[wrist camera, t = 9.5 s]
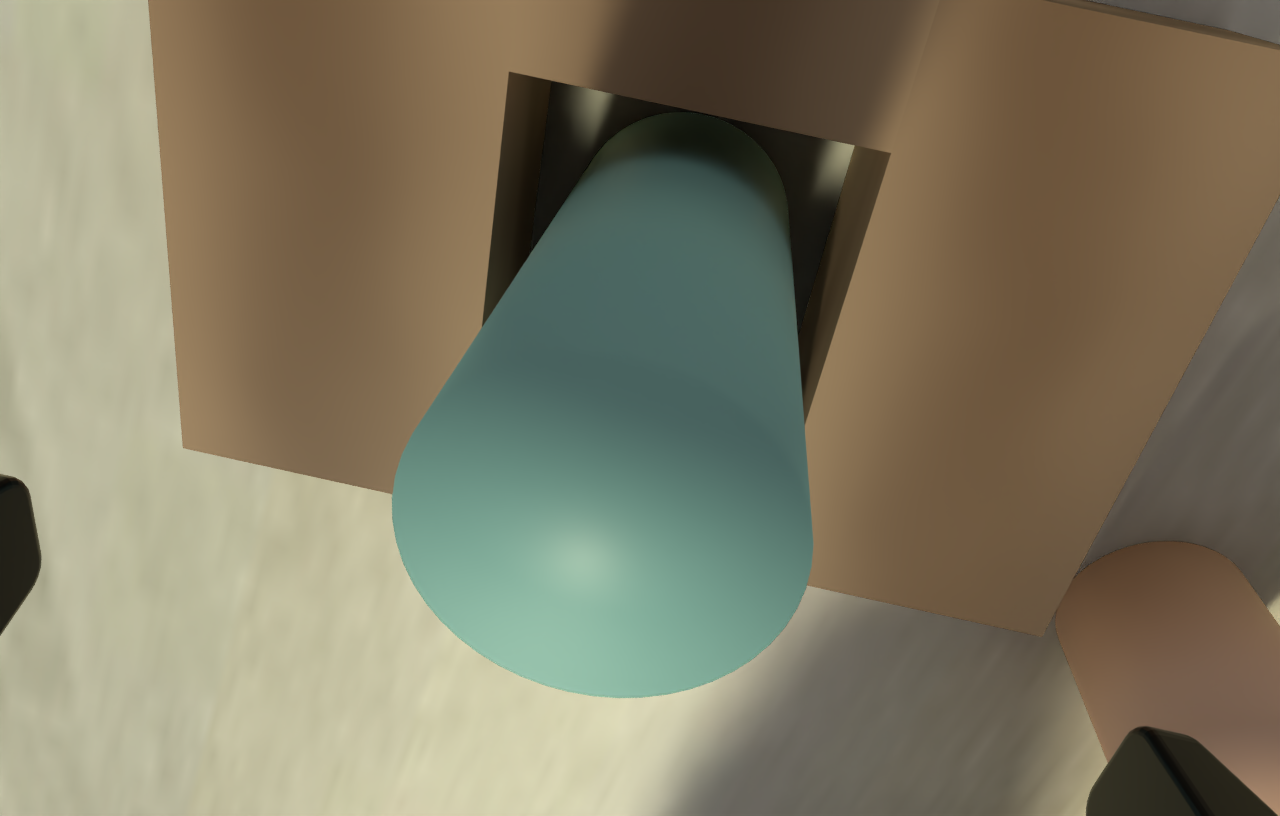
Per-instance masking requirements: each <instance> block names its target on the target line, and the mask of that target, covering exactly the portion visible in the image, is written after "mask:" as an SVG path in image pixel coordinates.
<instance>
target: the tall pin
mask: <svg viewBox="0 0 1280 816" xmlns="http://www.w3.org/2000/svg"><path fill="white" fill-rule="evenodd" d="M392 520H393V526H394V532H395V537H396V543H397V546H398V549H399V552H400V555H401V558H402V561H403V564H404V566H405V568H406V570H407V572H408V574H409V576H410V578H411V580H412V582H413V584H414V586H415V587H416V589H417V590H418V592H419V593H420V595H421V596H422V598H423V599H424V601H425V602H426V604H427V605H428V606H429V607H430V609H431V610H432V611H433V612H434V613H435V615H436V616H437V617H438V618H439V619H440V620H441V622H442V623H443V624H445V625H446V626H447V627H448V628H449V629H450V630H451V631H452V632H453V633H454V634H455V635H456V636H457V637H458V638H459V639H461V640H462V641H463V642H465V643H466V644H467V645H469V646H470V647H471V648H472V649H474V650H475V651H476V652H478V653H479V654H481V655H482V656H484V657H486V658H487V659H489V660H491V661H492V662H494V663H495V664H497V665H499V666H501V667H503V668H505V669H507V670H509V671H511V672H513V673H515V674H517V675H519V676H521V677H524V678H526V679H529V680H532V681H534V682H537V683H540V684H542V685H545V686H549V687H553V688H556V689H560V690H564V691H567V692H573V693H578V694H584V695H590V696H599V697H612V698H641V697H651V696H659V695H667V694H671V693H676V692H680V691H685V690H689V689H692V688H695V687H698V686H701V685H704V684H707V683H710V682H713V681H715V680H717V679H719V678H721V677H723V676H725V675H727V674H729V673H731V672H733V671H735V670H736V669H738V668H740V667H741V666H743V665H744V664H746V663H747V662H749V661H750V660H752V659H753V658H754V657H756V656H757V655H758V654H759V653H760V652H762V651H763V650H764V649H765V648H766V647H767V646H769V645H770V644H771V643H772V641H773V640H774V639H775V638H776V637H777V636H778V635H779V634H780V632H781V631H782V630H783V629H784V628H785V627H786V625H787V623H788V622H789V620H790V619H791V617H792V616H793V614H794V613H795V611H796V610H797V608H798V605H799V603H800V601H801V599H802V596H803V594H804V592H805V590H806V586H807V582H808V579H809V575H810V571H811V567H812V556H813V545H814V543H813V530H812V516H811V503H810V490H809V477H808V464H807V451H806V438H805V425H804V412H803V398H802V385H801V372H800V359H799V346H798V333H797V320H796V307H795V294H794V281H793V267H792V254H791V241H790V228H789V215H788V203H787V198H786V193H785V189H784V186H783V183H782V180H781V178H780V175H779V173H778V171H777V170H776V168H775V166H774V164H773V162H772V161H771V159H770V158H769V157H768V155H767V154H766V152H765V151H764V150H763V149H762V148H761V147H760V146H759V145H758V144H757V143H756V142H755V141H754V140H753V139H752V138H751V137H749V136H748V135H747V134H746V133H744V132H743V131H741V130H740V129H738V128H736V127H735V126H733V125H731V124H729V123H727V122H725V121H722V120H720V119H718V118H714V117H711V116H707V115H704V114H697V113H690V112H672V113H665V114H658V115H655V116H651V117H647V118H644V119H642V120H640V121H637V122H635V123H633V124H631V125H629V126H628V127H626V128H624V129H622V130H621V131H619V132H618V133H617V134H616V135H614V136H613V137H612V138H611V139H609V140H608V141H607V142H606V144H605V145H604V146H603V147H602V148H601V149H600V150H599V151H598V153H597V154H596V155H595V157H594V158H593V160H592V161H591V162H590V164H589V166H588V167H587V169H586V170H585V172H584V173H583V175H582V176H581V178H580V179H579V181H578V182H577V184H576V185H575V187H574V188H573V190H572V191H571V193H570V194H569V196H568V197H567V199H566V201H565V202H564V204H563V205H562V207H561V208H560V210H559V211H558V213H557V214H556V216H555V217H554V219H553V220H552V222H551V223H550V225H549V226H548V228H547V229H546V231H545V232H544V234H543V236H542V237H541V239H540V240H539V242H538V243H537V245H536V246H535V248H534V249H533V251H532V252H531V254H530V255H529V257H528V258H527V260H526V261H525V263H524V264H523V266H522V267H521V269H520V271H519V272H518V274H517V275H516V277H515V278H514V280H513V281H512V283H511V284H510V286H509V287H508V289H507V290H506V292H505V293H504V295H503V296H502V298H501V299H500V301H499V302H498V304H497V306H496V307H495V309H494V310H493V312H492V313H491V315H490V316H489V318H488V319H487V321H486V322H485V324H484V325H483V327H482V328H481V330H480V331H479V333H478V334H477V336H476V337H475V339H474V341H473V342H472V344H471V345H470V347H469V348H468V350H467V351H466V353H465V354H464V356H463V357H462V359H461V360H460V362H459V363H458V365H457V366H456V368H455V369H454V371H453V372H452V374H451V376H450V377H449V379H448V380H447V382H446V383H445V385H444V386H443V388H442V389H441V391H440V392H439V394H438V395H437V397H436V398H435V400H434V401H433V403H432V404H431V406H430V407H429V409H428V411H427V412H426V414H425V415H424V417H423V418H422V420H421V421H420V423H419V424H418V426H417V427H416V429H415V430H414V432H413V433H412V435H411V437H410V439H409V441H408V443H407V445H406V447H405V449H404V451H403V453H402V455H401V459H400V462H399V465H398V468H397V471H396V475H395V480H394V487H393V495H392Z"/></svg>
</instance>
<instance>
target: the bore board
mask: <svg viewBox="0 0 1280 816" xmlns="http://www.w3.org/2000/svg"><path fill="white" fill-rule="evenodd" d="M148 4H149V16H150V29H151V42H152V55H153V68H154V81H155V94H156V107H157V119H158V132H159V145H160V158H161V171H162V184H163V197H164V210H165V223H166V235H167V248H168V261H169V274H170V287H171V300H172V313H173V326H174V338H175V351H176V364H177V377H178V390H179V403H180V416H181V429H182V442H183V448H185V449H190V450H194V451H199V452H203V453H208V454H213V455H217V456H222V457H226V458H231V459H235V460H240V461H244V462H249V463H253V464H258V465H263V466H267V467H272V468H276V469H281V470H285V471H290V472H294V473H299V474H303V475H308V476H313V477H317V478H322V479H326V480H331V481H335V482H340V483H344V484H349V485H353V486H358V487H363V488H367V489H372V490H376V491H381V492H385V493H390V494H393V487H394V480H395V475H396V471H397V468H398V465H399V462H400V459H401V455H402V453H403V451H404V449H405V447H406V445H407V443H408V441H409V439H410V437H411V435H412V433H413V432H414V430H415V429H416V427H417V426H418V424H419V423H420V421H421V420H422V418H423V417H424V415H425V414H426V412H427V411H428V409H429V407H430V406H431V404H432V403H433V401H434V400H435V398H436V397H437V395H438V394H439V392H440V391H441V389H442V388H443V386H444V385H445V383H446V382H447V380H448V379H449V377H450V376H451V374H452V372H453V371H454V369H455V368H456V366H457V365H458V363H459V362H460V360H461V359H462V357H463V356H464V354H465V353H466V351H467V350H468V348H469V347H470V345H471V344H472V342H473V341H474V339H475V337H476V336H477V334H478V333H479V331H480V330H481V328H482V327H483V325H484V324H485V322H486V321H487V319H488V318H489V316H490V315H491V313H492V312H493V310H494V309H495V307H496V306H497V304H498V302H499V301H500V299H501V298H502V296H503V295H504V293H505V292H506V290H507V289H508V287H509V286H510V284H511V283H512V281H513V280H514V278H515V277H516V275H517V274H518V272H519V271H520V269H521V267H522V266H523V264H524V263H525V261H526V260H527V258H528V257H529V253H530V245H531V237H532V229H533V222H534V214H535V206H536V198H537V190H538V183H539V175H540V167H541V159H542V151H543V144H544V136H545V128H546V120H547V113H548V105H549V97H550V89H551V81H556V82H561V83H565V84H570V85H575V86H580V87H584V88H589V89H594V90H598V91H603V92H608V93H612V94H617V95H622V96H626V97H631V98H636V99H640V100H645V101H650V102H654V103H659V104H664V105H669V106H673V107H678V108H683V109H687V110H692V111H697V112H701V113H706V114H711V115H715V116H720V117H725V118H729V119H734V120H739V121H743V122H748V123H753V124H758V125H762V126H767V127H772V128H776V129H781V130H786V131H790V132H795V133H800V134H804V135H809V136H814V137H818V138H823V139H828V140H832V141H837V142H842V143H847V144H851V145H855V147H854V150H853V154H852V157H851V160H850V164H849V167H848V171H847V174H846V177H845V181H844V184H843V187H842V191H841V194H840V198H839V201H838V204H837V208H836V211H835V214H834V218H833V221H832V225H831V228H830V231H829V235H828V238H827V241H826V245H825V248H824V252H823V255H822V258H821V262H820V265H819V268H818V272H817V275H816V279H815V282H814V285H813V289H812V292H811V296H810V299H809V302H808V306H807V309H806V312H805V316H804V319H803V323H802V326H801V329H800V333H799V336H798V346H799V359H800V372H801V385H802V398H803V412H804V425H805V438H806V451H807V464H808V477H809V490H810V503H811V516H812V530H813V543H814V545H813V556H812V567H811V571H810V575H809V579H808V582H807V585H808V586H813V587H817V588H822V589H826V590H831V591H835V592H840V593H844V594H849V595H853V596H858V597H863V598H867V599H872V600H876V601H881V602H885V603H890V604H894V605H899V606H903V607H908V608H913V609H917V610H922V611H926V612H931V613H935V614H940V615H944V616H949V617H953V618H958V619H963V620H967V621H972V622H976V623H981V624H985V625H990V626H994V627H999V628H1003V629H1008V630H1013V631H1017V632H1022V633H1026V634H1031V635H1035V636H1040V637H1042V636H1043V634H1044V632H1045V630H1046V629H1047V627H1048V625H1049V623H1050V621H1051V619H1052V617H1053V616H1054V614H1055V612H1056V610H1057V608H1058V606H1059V604H1060V603H1061V601H1062V599H1063V597H1064V595H1065V593H1066V591H1067V590H1068V588H1069V586H1070V584H1071V582H1072V580H1073V578H1074V577H1075V575H1076V573H1077V571H1078V569H1079V567H1080V565H1081V564H1082V562H1083V560H1084V558H1085V556H1086V554H1087V552H1088V551H1089V549H1090V547H1091V545H1092V543H1093V541H1094V539H1095V538H1096V536H1097V534H1098V532H1099V530H1100V528H1101V526H1102V525H1103V523H1104V521H1105V519H1106V517H1107V515H1108V513H1109V512H1110V510H1111V508H1112V506H1113V504H1114V502H1115V500H1116V499H1117V497H1118V495H1119V493H1120V491H1121V489H1122V487H1123V486H1124V484H1125V482H1126V480H1127V478H1128V476H1129V474H1130V473H1131V471H1132V469H1133V467H1134V465H1135V463H1136V461H1137V460H1138V458H1139V456H1140V454H1141V452H1142V450H1143V448H1144V447H1145V445H1146V443H1147V441H1148V439H1149V437H1150V435H1151V434H1152V432H1153V430H1154V428H1155V426H1156V424H1157V422H1158V421H1159V419H1160V417H1161V415H1162V413H1163V411H1164V409H1165V408H1166V406H1167V404H1168V402H1169V400H1170V398H1171V396H1172V395H1173V393H1174V391H1175V389H1176V387H1177V385H1178V383H1179V382H1180V380H1181V378H1182V376H1183V374H1184V372H1185V370H1186V369H1187V367H1188V365H1189V363H1190V361H1191V359H1192V358H1193V356H1194V354H1195V352H1196V350H1197V348H1198V346H1199V345H1200V343H1201V341H1202V339H1203V337H1204V335H1205V333H1206V332H1207V330H1208V328H1209V326H1210V324H1211V322H1212V320H1213V319H1214V317H1215V315H1216V313H1217V311H1218V309H1219V307H1220V306H1221V304H1222V302H1223V300H1224V298H1225V296H1226V294H1227V293H1228V291H1229V289H1230V287H1231V285H1232V283H1233V281H1234V280H1235V278H1236V276H1237V274H1238V272H1239V270H1240V268H1241V267H1242V265H1243V263H1244V261H1245V259H1246V257H1247V255H1248V254H1249V252H1250V250H1251V248H1252V246H1253V244H1254V242H1255V241H1256V239H1257V237H1258V235H1259V233H1260V231H1261V229H1262V228H1263V226H1264V224H1265V222H1266V220H1267V218H1268V216H1269V215H1270V213H1271V211H1272V209H1273V207H1274V205H1275V203H1276V202H1277V200H1278V198H1279V196H1280V45H1278V44H1275V43H1271V42H1268V41H1264V40H1261V39H1257V38H1254V37H1250V36H1247V35H1243V34H1240V33H1236V32H1233V31H1229V30H1224V29H1220V28H1215V27H1210V26H1205V25H1201V24H1196V23H1191V22H1186V21H1182V20H1177V19H1172V18H1167V17H1163V16H1158V15H1153V14H1148V13H1144V12H1139V11H1134V10H1129V9H1125V8H1120V7H1115V6H1111V5H1106V4H1101V3H1096V2H1092V1H1087V0H148Z"/></svg>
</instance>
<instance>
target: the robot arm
mask: <svg viewBox="0 0 1280 816" xmlns="http://www.w3.org/2000/svg"><path fill="white" fill-rule="evenodd" d="M40 568H41V550H40V545H39V540H38V534H37V529H36V523H35V518H34V513H33V507H32V502H31V496H30V493H29V490H28V488H27V487H26V486H25V484H24V483H23V482H22V481H21V480H19V479H17V478H15V477H12V476H7V475H3V474H0V635H1V634H2V633H3V631H4V630H5V628H6V627H7V625H8V624H9V622H10V621H11V619H12V618H13V616H14V615H15V613H16V612H17V611H18V609H19V608H20V606H21V605H22V603H23V602H24V600H25V599H26V597H27V596H28V594H29V593H30V591H31V590H32V588H33V586H34V585H35V583H36V580H37V578H38V575H39V572H40ZM1086 816H1278V815H1277V814H1276V813H1275V812H1274V811H1273V810H1272V809H1271V808H1270V807H1269V806H1268V805H1266V804H1265V803H1264V802H1263V801H1262V800H1261V799H1260V798H1259V797H1258V796H1257V795H1256V794H1255V793H1254V792H1253V791H1251V790H1250V789H1249V788H1248V787H1247V786H1246V785H1245V784H1244V783H1243V782H1242V781H1241V780H1240V779H1239V778H1237V777H1236V776H1235V775H1234V774H1233V773H1232V772H1231V771H1230V770H1229V769H1228V768H1227V767H1226V766H1225V765H1224V764H1222V763H1221V762H1220V761H1219V760H1218V759H1217V758H1216V757H1215V756H1214V755H1213V754H1212V753H1211V752H1210V751H1209V750H1207V749H1206V748H1205V747H1204V746H1203V745H1202V744H1201V743H1200V742H1199V741H1197V740H1196V739H1194V738H1192V737H1190V736H1188V735H1185V734H1181V733H1177V732H1172V731H1168V730H1163V729H1159V728H1154V727H1149V726H1139V727H1136V728H1135V729H1133V730H1131V731H1130V732H1129V733H1128V734H1127V735H1126V736H1125V738H1124V739H1123V741H1122V742H1121V744H1120V746H1119V747H1118V749H1117V750H1116V752H1115V753H1114V755H1113V756H1112V758H1111V759H1110V761H1109V762H1108V764H1107V766H1106V767H1105V769H1104V770H1103V772H1102V773H1101V775H1100V776H1099V778H1098V779H1097V781H1096V782H1095V784H1094V786H1093V787H1092V789H1091V792H1090V794H1089V797H1088V801H1087V807H1086Z"/></svg>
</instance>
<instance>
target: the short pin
mask: <svg viewBox="0 0 1280 816" xmlns="http://www.w3.org/2000/svg"><path fill="white" fill-rule="evenodd" d="M1055 625H1056V632H1057V635H1058V639H1059V641H1060V644H1061V646H1062V649H1063V651H1064V654H1065V656H1066V659H1067V661H1068V664H1069V666H1070V669H1071V671H1072V674H1073V676H1074V679H1075V681H1076V684H1077V686H1078V689H1079V691H1080V694H1081V696H1082V699H1083V701H1084V704H1085V706H1086V709H1087V711H1088V714H1089V717H1090V719H1091V722H1092V724H1093V727H1094V729H1095V732H1096V734H1097V737H1098V739H1099V742H1100V744H1101V747H1102V749H1103V752H1104V754H1105V757H1106V759H1107V762H1109V761H1110V759H1111V758H1112V756H1113V755H1114V753H1115V752H1116V750H1117V749H1118V747H1119V746H1120V744H1121V742H1122V741H1123V739H1124V738H1125V736H1126V735H1127V734H1128V733H1129V732H1130V731H1131V730H1133V729H1135V728H1136V727H1139V726H1149V727H1154V728H1159V729H1163V730H1168V731H1172V732H1177V733H1181V734H1185V735H1188V736H1190V737H1192V738H1194V739H1196V740H1197V741H1199V742H1200V743H1201V744H1202V745H1203V746H1204V747H1205V748H1206V749H1207V750H1209V751H1210V752H1211V753H1212V754H1213V755H1214V756H1215V757H1216V758H1217V759H1218V760H1219V761H1220V762H1221V763H1222V764H1224V765H1225V766H1226V767H1227V768H1228V769H1229V770H1230V771H1231V772H1232V773H1233V774H1234V775H1235V776H1236V777H1237V778H1239V779H1240V780H1241V781H1242V782H1243V783H1244V784H1245V785H1246V786H1247V787H1248V788H1249V789H1250V790H1251V791H1253V792H1254V793H1255V794H1256V795H1257V796H1258V797H1259V798H1260V799H1261V800H1262V801H1263V802H1264V803H1265V804H1266V805H1268V806H1269V807H1270V808H1271V809H1272V810H1273V811H1274V812H1275V813H1276V814H1277V815H1278V816H1280V626H1279V624H1278V623H1277V621H1276V620H1275V619H1274V617H1273V616H1272V614H1271V613H1270V612H1269V610H1268V609H1267V607H1266V606H1265V605H1264V603H1263V602H1262V600H1261V599H1260V597H1259V596H1258V595H1257V593H1256V592H1255V590H1254V589H1253V588H1252V586H1251V585H1250V583H1249V582H1248V581H1247V579H1246V578H1245V576H1244V575H1243V574H1242V572H1241V571H1240V570H1239V569H1238V567H1237V566H1236V565H1235V564H1234V563H1233V562H1231V561H1230V560H1229V559H1228V558H1226V557H1225V556H1223V555H1221V554H1220V553H1218V552H1216V551H1214V550H1211V549H1209V548H1207V547H1204V546H1200V545H1196V544H1192V543H1186V542H1177V541H1157V542H1148V543H1141V544H1137V545H1133V546H1129V547H1126V548H1123V549H1120V550H1117V551H1114V552H1112V553H1110V554H1108V555H1106V556H1103V557H1102V558H1100V559H1098V560H1097V561H1095V562H1093V563H1092V564H1090V565H1089V566H1088V567H1086V568H1085V569H1084V570H1082V571H1081V572H1080V573H1079V574H1078V575H1077V576H1076V577H1075V578H1074V579H1073V580H1072V582H1071V584H1070V586H1069V588H1068V590H1067V591H1066V593H1065V595H1064V597H1063V599H1062V601H1061V603H1060V604H1059V606H1058V608H1057V610H1056V617H1055Z"/></svg>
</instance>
